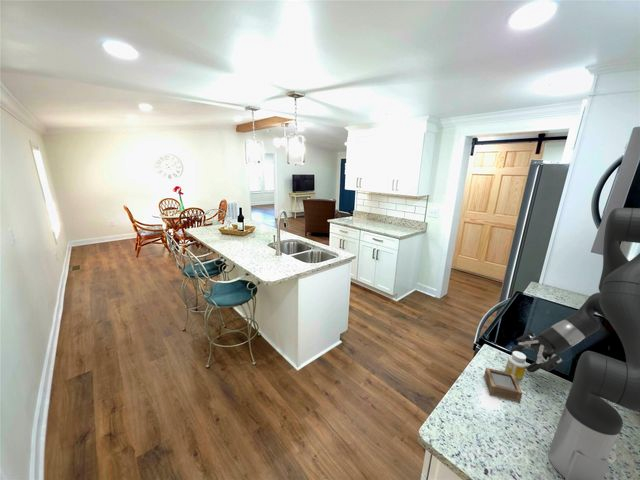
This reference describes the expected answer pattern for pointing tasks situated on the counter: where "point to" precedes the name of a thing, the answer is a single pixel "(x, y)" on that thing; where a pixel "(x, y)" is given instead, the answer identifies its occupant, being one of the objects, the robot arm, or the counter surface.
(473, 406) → the counter surface
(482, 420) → the counter surface
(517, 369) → the supplement bottle
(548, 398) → the counter surface
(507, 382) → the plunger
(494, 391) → the brown square tray
